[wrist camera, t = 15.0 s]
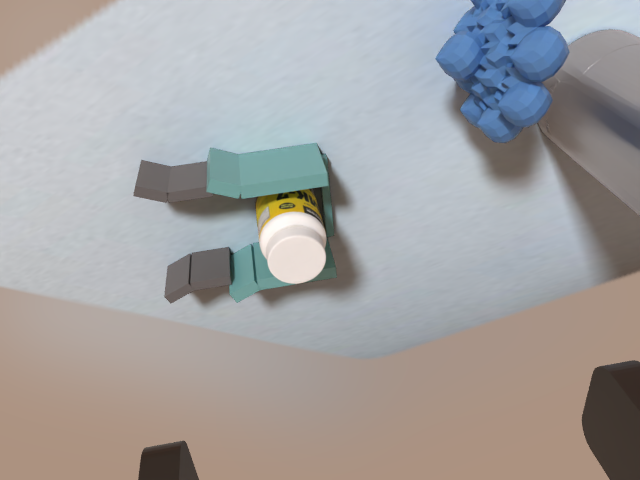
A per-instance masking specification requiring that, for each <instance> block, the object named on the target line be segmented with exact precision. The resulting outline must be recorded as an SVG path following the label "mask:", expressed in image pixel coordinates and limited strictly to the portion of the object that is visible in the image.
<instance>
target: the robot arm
mask: <svg viewBox="0 0 640 480" xmlns="http://www.w3.org/2000/svg"><path fill="white" fill-rule="evenodd" d="M568 49H569V52H570V53H569V55H568V57H567V59H566V61H565V62H564V64H563V66H562V67H561V68H560V69H559V70H558V72H557V73H556V74H555V75H554V76H553V77H551V78H549V79H547V80H545V81H543V82H542V83H543V84H544V86H545V87H546V88H547V90H548V91H549V93H550V94H551V97H552V99H553V101H552V103H551V105H550V107H549V109H548V111H547V113H546V114H545V115H544V116H543V117H542V118H541V120H540V121H539V122H538V124H539V126H540V128H541V130H542V132H543V133H544V134H545V135H546V136H547V137H548V138H549V139H550V140H551V141H552V142H553V143H555V144H556V145H557V146H558V147H559V148H560V149H562V150H563V151H564V152H565V153H566V154H568V155H569V156H570V157H571V158H572V159H573V160H574V161H575V162H577V163H578V164H579V165H580V166H581V167H582V168H584V169H585V170H586V171H587V172H588V173H590V174H591V175H592V176H593V177H594V178H595V179H597V180H598V181H599V182H600V183H601V184H603V185H604V186H605V187H606V188H607V189H608V190H610V191H611V192H612V193H613V194H614V195H616V196H617V197H618V198H619V199H620V200H621V201H623V202H624V203H625V204H626V205H627V206H629V207H630V208H631V209H632V210H633V211H634V212H636V213H637V214H638V215H639V216H640V38H639V37H637V36H635V35H632V34H630V33H627V32H625V31H622V30H613V29H609V30H601V31H596V32H593V33H590V34H587V35H585V36H583V37H581V38H579V39H578V40H576V41H574V42H572V43H571V44H570V45H569V46H568ZM582 426H583V431H584V435H585V438H586V441H587V443H588V445H589V447H590V449H591V450H592V452H593V454H594V455H595V457H596V458H597V460H598V461H599V463H600V465H601V466H602V468H603V469H604V471H605V473H606V474H607V476H608V477H609V479H610V480H640V362H638V361H627V362H622V363H616V364H611V365H605V366H600V367H597V368H595V370H594V371H593V374H592V378H591V382H590V386H589V391H588V395H587V399H586V403H585V407H584V411H583V415H582ZM138 480H199V478H198V476H197V473H196V470H195V467H194V464H193V461H192V458H191V455H190V452H189V449H188V446H187V444H186V442H185V441H180V442H174V443H168V444H163V445H157V446H152V447H146V448H144V450H143V452H142V455H141V462H140V471H139V479H138Z"/></svg>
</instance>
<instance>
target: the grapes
mask: <svg viewBox="0 0 640 480" xmlns="http://www.w3.org/2000/svg"><path fill="white" fill-rule="evenodd" d="M471 1H472V3H473V4H474V7H473V8H471V9H470V10H469V11H467V12H466V13H465V14H464V16H463V17H462V18H461V20H460V21H459V22H458V24H457V25H456V27H455V29H454V33H455V35H453V36H452V37H451V38H450V39H449V40H448V41H447V42H446V43H445V45H444V46H443V47H442V49H441V50H440V52H439V53H438V55H437V57H436V58H435V59H436V60H437V62H438V63H439V65H440V66H441V68H442V69H443V70H444V72H445V73H446V74H448V75H449V76H451V77H452V78H454V80H455V81H456V83H457V84H458V85H459V87H460V88H462V89H463V90H465V91H466V92H468V93H470V95H469V96H468V98H467V99H466V100H465V102H464V103H463V105H462V107H461V109H460V111H461V112H462V114H463V115H464V117H465V118H466V119H467V121H468V122H469V123H471V124H472V125H474V126H475V127H477V128H480V129H481V130H482V131H483V133H484V134H485V135H486V136H487V137H488V138H489V139H491V140H492V141H494V142H498V143H507V142H509V141H511V140H513V139H514V138H515V137H516V136H517V135H518V134H519V133H520V132H521V131H522V129H523V127H530V126H532V125H534V124H536V123H538V122H539V121H540V120H541V118H542V117H543V116H544V115H545V114H546V113H547V111H548V109H549V107H550V105H551V103H552V101H553V99H552V97H551V94H550V93H549V91H548V90H547V88H546V87H545V86H544V84H543V83H542V82H543V81H545V80H547V79H549V78H551V77H553V76H554V75H555V74H556V73H557V72H558V70H559V69H560V68H561V67H562V66H563V64H564V62H565V61H566V59H567V57H568V55H569V53H570V52H569V49H568V46H567V43H566V41H565V39H564V38H563V36H562V35H561V33H560V32H559V31H557V30H555V29H554V28H552V27H550V26H546V25H548V24H549V23H551V21H552V20H553V19H554V18H555V17H556V16H557V14H558V13H559V12H560V10H561V8H562V6H563V5H564V3H565V1H566V0H471Z"/></svg>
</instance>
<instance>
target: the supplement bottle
mask: <svg viewBox="0 0 640 480" xmlns="http://www.w3.org/2000/svg"><path fill="white" fill-rule="evenodd" d="M255 207H256V216H257V226H258V235H259V244H260V248H261V251H262V254H263V255H264V257H265V258H266V259H267V263H268V267H269V270H270V272H271V273H272V274H273V275H274V276H275V277H276V278H277V279H279V280H281V281H283V282H286V283H291V284H298V283H304V282H307V281H309V280H311V279H313V278H315V277H316V276H317V275H318V274H319V273H320V272H321V271H322V269H323V268H324V265H325V262H326V252H325V246H326V231H325V228H324V224H323V221H322V218H321V214H320V211H319V207H318V204H317V201H316V197H315V194H314V192H313V190H312V188H311V189H304V190H298V191H291V192H285V193H278V194H271V195H265V196H258V197H256V200H255Z"/></svg>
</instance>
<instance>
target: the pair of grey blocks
mask: <svg viewBox="0 0 640 480" xmlns="http://www.w3.org/2000/svg"><path fill="white" fill-rule="evenodd" d="M134 196H136V197H141V198H146V199H150V200H155V201H160V202H165V203H166V202H167V198H168V202H169V203H172V202H178V201H185V200H192V199H198V198H205V197H211V196H212V193H209V192H207V162H200V163H193V164H186V165H179V166H172V167H170V166H166V165H161V164H157V163H152V162H148V161H144V160H141V164H140V168H139V173H138V177H137V181H136V185H135V191H134ZM226 285H232V279H231V255H230V250H229V247H226V248H220V249H213V250H207V251H201V252H194V253H192V255H191V254H188V255H187V256H185V257H183V258H181V259H180V260H178V261H176V262H174V263H173V264H171V265H169V266H168V269H167V278H166V287H165V296H164V297H165V298H166V299H167V300H168V301H169V302H170V303H173V302H175V301H176V300H178V299H180V298H182V297H183V296H185V295H187V294H189V293H191V292H192V291H195V290H201V289H207V288H213V287H220V286H226Z"/></svg>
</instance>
